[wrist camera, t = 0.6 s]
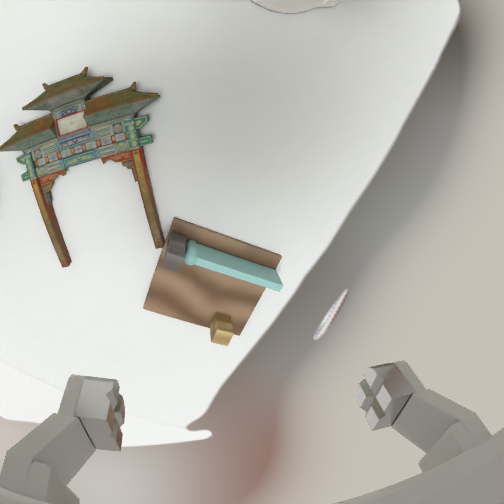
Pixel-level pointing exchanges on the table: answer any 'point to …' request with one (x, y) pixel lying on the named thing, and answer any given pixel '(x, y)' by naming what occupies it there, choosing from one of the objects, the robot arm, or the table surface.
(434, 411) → the robot arm
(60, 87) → the miniature gate
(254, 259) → the gate frame
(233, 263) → the gate
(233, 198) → the table surface
